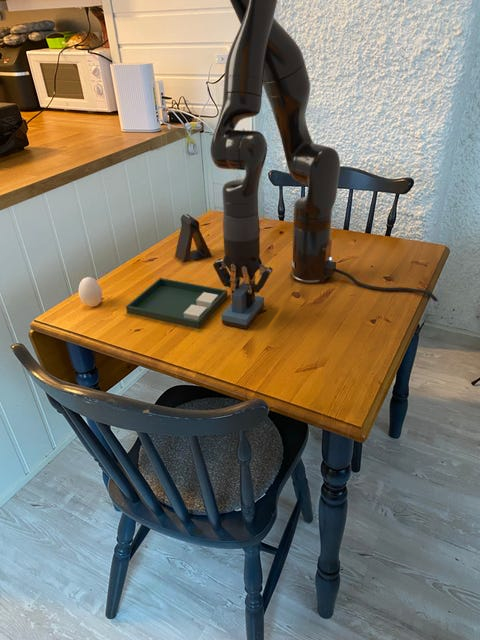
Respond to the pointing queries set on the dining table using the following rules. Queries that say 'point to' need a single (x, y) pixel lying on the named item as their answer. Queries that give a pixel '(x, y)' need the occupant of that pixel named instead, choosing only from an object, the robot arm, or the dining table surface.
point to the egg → (90, 292)
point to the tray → (174, 302)
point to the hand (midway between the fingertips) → (243, 304)
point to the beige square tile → (206, 299)
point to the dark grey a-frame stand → (185, 240)
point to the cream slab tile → (194, 312)
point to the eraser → (241, 309)
